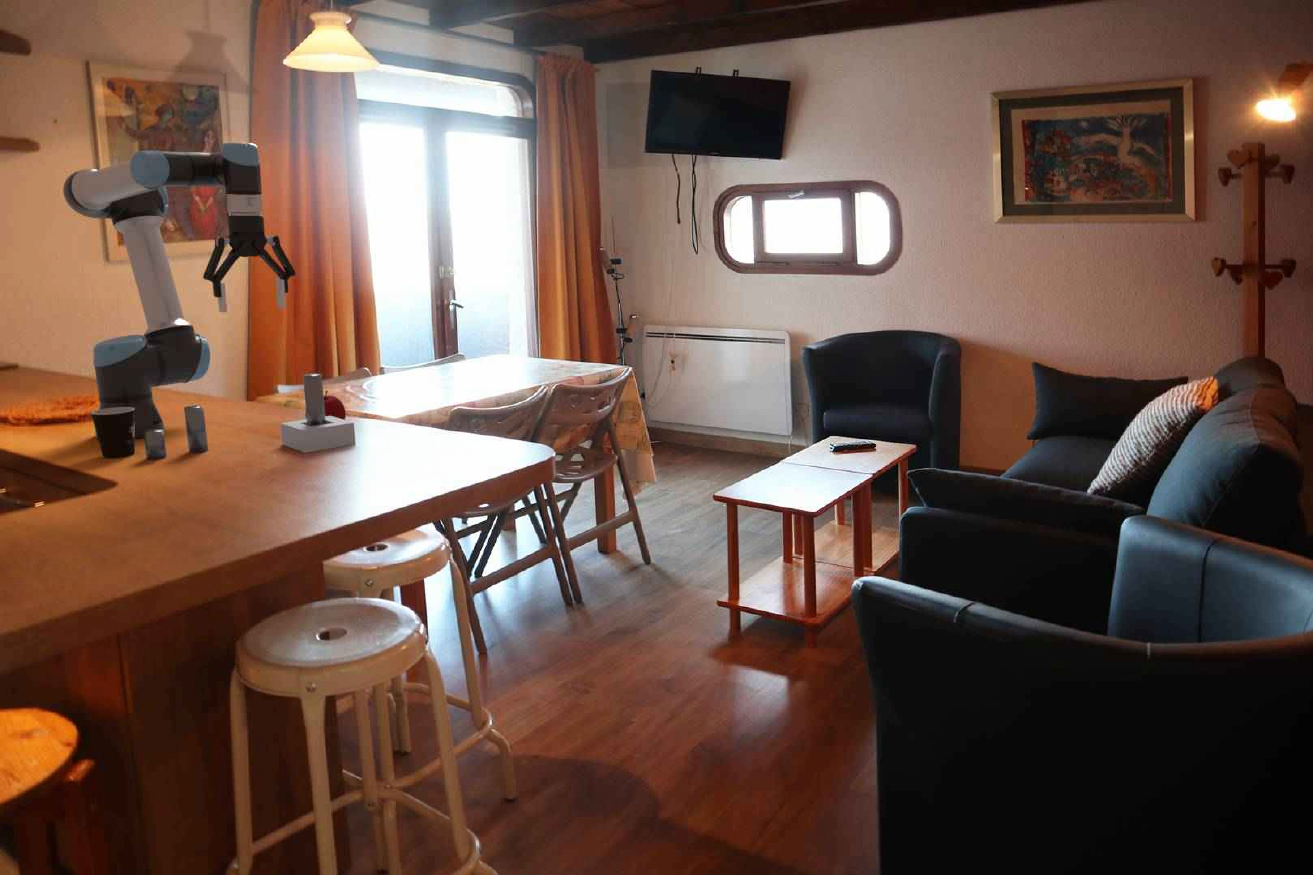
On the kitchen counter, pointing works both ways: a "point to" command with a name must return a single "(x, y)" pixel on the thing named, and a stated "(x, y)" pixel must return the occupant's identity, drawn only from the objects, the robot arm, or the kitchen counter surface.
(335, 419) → the hole block
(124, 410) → the coffee mug
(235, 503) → the kitchen counter surface
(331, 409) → the apple
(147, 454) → the short pin
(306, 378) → the long pin
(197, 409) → the medium pin
